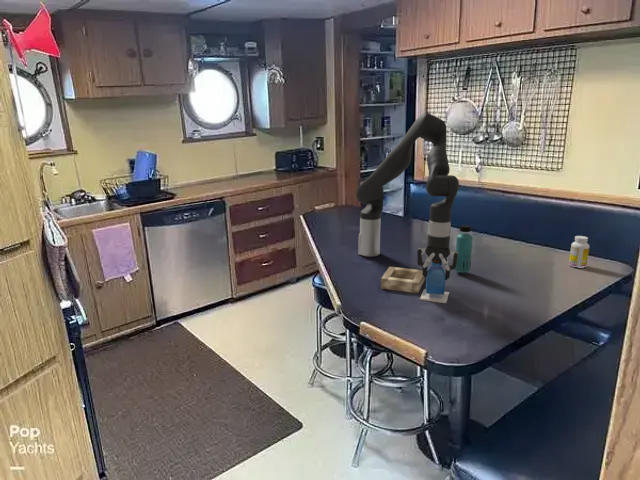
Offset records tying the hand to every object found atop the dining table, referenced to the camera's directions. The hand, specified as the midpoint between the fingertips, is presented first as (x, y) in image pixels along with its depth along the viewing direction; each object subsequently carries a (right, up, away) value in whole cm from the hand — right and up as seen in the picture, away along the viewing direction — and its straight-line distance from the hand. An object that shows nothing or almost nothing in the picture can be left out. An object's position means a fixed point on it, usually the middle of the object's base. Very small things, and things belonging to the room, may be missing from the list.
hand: (435, 278), depth 164 cm
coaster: (0, -7, +2) cm, 7 cm away
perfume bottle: (0, -5, +1) cm, 5 cm away
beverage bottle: (+17, 0, +25) cm, 30 cm away
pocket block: (-9, -3, +14) cm, 17 cm away
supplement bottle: (+68, +2, +31) cm, 75 cm away
